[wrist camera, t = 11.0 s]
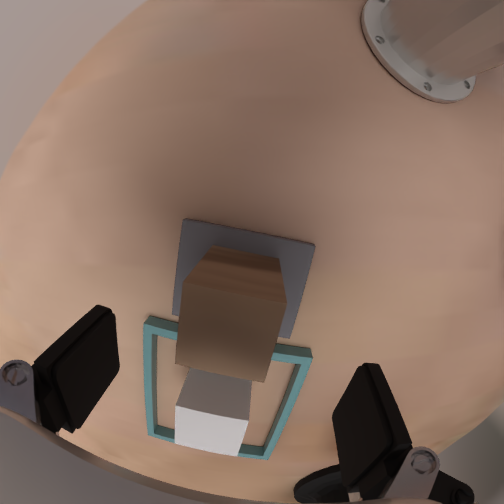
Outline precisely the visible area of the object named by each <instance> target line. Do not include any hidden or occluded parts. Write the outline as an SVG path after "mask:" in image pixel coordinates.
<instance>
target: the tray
mask: <svg viewBox="0 0 504 504" xmlns="http://www.w3.org/2000/svg"><path fill="white" fill-rule="evenodd" d="M177 333H178V323H175V322H171V321H167V320H164V319H160V318H156V317H152V316H149V317H148V319H147V320H146V321H145V322H144V328H143V358H144V389H145V406H146V419H147V430H148V435H150V436H153V437H156V438H159V439H163V440H166V441H169V442H173V443H175V430H173V429H169V428H166V427H162V426H159V425H157V394H156V360H157V335H159V336H162V337H166V338H170V339H173V340H177ZM312 359H313V357H312V353H311V349H309V348H302V347H295V346H288V345H282V344H276V345H275V348H274V352H273V355H272V358H271V360H274V361H281V362H287V363H294V364H296V366H295V369H294V372H293V374H292V377H291V380H290V382H289V385H288V388H287V390H286V393H285V396H284V398H283V401H282V403H281V406H280V408H279V411H278V413H277V416H276V418H275V421H274V423H273V425H272V428H271V430H270V433H269V435H268V437H267V440H266V442H265V444H264V446H263V447H259V446H251V445H244V444H241V446H240V449H239V452H238V455H237V456H240V457H247V458H255V459H264V460H268V459H269V457H270V455H271V453H272V451H273V449H274V447H275V445H276V443H277V441H278V439H279V437H280V435H281V433H282V430H283V428H284V426H285V424H286V422H287V420H288V417H289V415H290V413H291V411H292V408H293V406H294V404H295V401H296V399H297V397H298V394H299V392H300V389H301V387H302V385H303V382H304V380H305V377H306V375H307V372H308V370H309V367H310V364H311V362H312Z"/></svg>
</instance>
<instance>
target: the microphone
mask: <svg viewBox="0 0 504 504" xmlns="http://www.w3.org/2000/svg"><path fill="white" fill-rule="evenodd" d="M294 498H295V499H296V500H297V501H298V502H300V503H302V504H319V503H343V502H350V500H349V495H348V493H347V488H346V487H344V486H343V484H342V478H341V471H340V464H339V465H334V466H330V467H328V468H325V469H322V470H319V471H316V472H314V473H312V474H310V475H308V476H306V477H305V478H303V479H301V480H300V481H299V482H298V483H297V484H296V485H295V487H294Z"/></svg>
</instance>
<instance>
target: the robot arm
mask: <svg viewBox="0 0 504 504" xmlns="http://www.w3.org/2000/svg"><path fill="white" fill-rule="evenodd" d="M361 23H362V28H363V32H364V35H365V37H366V40H367V42H368V44H369V46H370V48H371V49H372V51H373V53H374V54H375V56H376V57H377V58H378V60H379V61H380V62H381V64H382V65H383V66H384V67H385V68H386V69H387V70H388V71H389V72H390V73H391V74H392V75H393V76H394V77H395V78H396V79H397V80H398V81H400V82H401V83H402V84H403V85H404V86H406V87H407V88H409V89H410V90H412V91H413V92H415V93H416V94H418V95H420V96H422V97H424V98H426V99H429V100H432V101H435V102H440V103H453V102H456V101H459V100H462V99H464V98H465V97H467V96H468V95H469V94H470V93H471V92H472V90H473V88H474V85H475V80H476V75H477V74H479V73H482V72H484V71H487V70H489V69H492V68H495V67H497V66H500V65H502V64H504V0H368V1H367V2H366V4H365V5H364V8H363V11H362V16H361ZM119 367H120V364H119V355H118V345H117V333H116V318H115V314H113V313H112V310H111V309H110V308H107V307H104V306H101V305H96V306H95V307H94V308H92V309H91V310H90V311H89V312H88V313H87V314H85V315H84V316H83V317H82V318H81V319H80V320H79V321H77V322H76V323H75V324H74V325H73V326H72V327H71V328H70V329H68V330H67V331H66V332H65V333H64V334H63V335H62V336H61V337H60V338H58V339H57V340H56V341H55V342H54V343H53V344H52V345H51V346H50V347H49V348H48V349H47V350H46V351H44V352H43V353H42V354H41V355H40V356H39V357H38V358H37V359H36V360H35V361H34V364H33V365H32V366H30V364H28V363H27V362H25V361H23V360H11V361H9V362H6V363H5V364H4V365H3V366H2V367H1V369H0V504H297V503H275V502H263V501H253V500H245V499H238V498H231V497H225V496H219V495H214V494H209V493H204V492H200V491H195V490H191V489H187V488H183V487H180V486H176V485H172V484H169V483H166V482H162V481H159V480H156V479H153V478H150V477H147V476H144V475H141V474H139V473H136V472H133V471H131V470H128V469H126V468H123V467H121V466H118V465H116V464H113V463H111V462H109V461H107V460H104V459H102V458H100V457H98V456H96V455H94V454H92V453H90V452H88V451H86V450H84V449H82V448H80V447H78V446H76V445H74V444H72V443H70V442H68V441H67V440H65V439H63V438H61V437H59V431H60V429H61V428H63V429H65V430H67V431H69V432H70V433H72V434H73V432H74V431H75V429H76V428H77V429H79V428H81V426H82V425H83V423H84V422H85V420H86V419H87V417H88V416H89V414H90V413H91V411H92V410H93V408H94V407H95V405H96V404H97V402H98V401H99V399H100V398H101V397H102V395H103V394H104V392H105V391H106V389H107V388H108V386H109V385H110V383H111V382H112V381H113V379H114V378H115V376H116V375H117V373H118V371H119ZM332 421H333V426H334V432H335V438H336V445H337V451H338V457H339V464H340V471H341V478H342V484H343V486H344V487H346V488H347V493H356V492H359V493H360V497H361V498H360V499H359V500H358V501H356V502H343V503H319V504H480V503H479V502H476V503H474V493H473V490H472V489H471V488H470V487H469V486H468V485H467V484H465V483H463V482H461V481H459V480H456V479H455V478H453V477H451V476H449V475H447V474H445V473H443V472H442V471H440V470H439V468H440V461H439V458H438V456H437V454H436V453H435V452H434V451H432V450H431V449H429V448H426V447H415V448H413V447H412V445H411V444H412V441H411V438H410V436H409V433H408V431H407V428H406V426H405V423H404V421H403V418H402V416H401V413H400V411H399V408H398V406H397V404H396V401H395V399H394V397H393V394H392V392H391V390H390V387H389V385H388V383H387V380H386V378H385V376H384V374H383V372H382V369H381V367H380V365H379V364H375V363H364V364H363V365H362V366H359V367H358V368H357V370H356V372H355V373H354V375H353V377H352V379H351V381H350V383H349V385H348V387H347V389H346V390H345V392H344V394H343V396H342V397H341V399H340V401H339V403H338V404H337V406H336V408H335V410H334V412H333V415H332Z"/></svg>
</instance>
